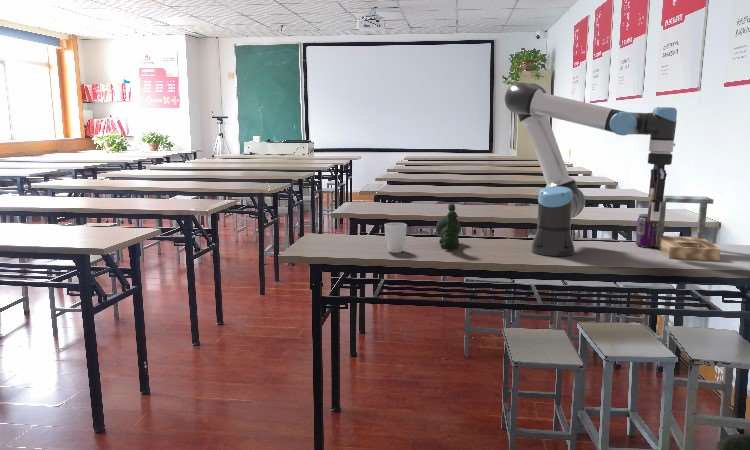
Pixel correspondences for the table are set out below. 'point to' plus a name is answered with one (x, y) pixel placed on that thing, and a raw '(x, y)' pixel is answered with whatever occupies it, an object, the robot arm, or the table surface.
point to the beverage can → (645, 232)
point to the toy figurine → (449, 229)
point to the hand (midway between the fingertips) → (653, 219)
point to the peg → (651, 208)
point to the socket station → (687, 245)
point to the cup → (395, 236)
